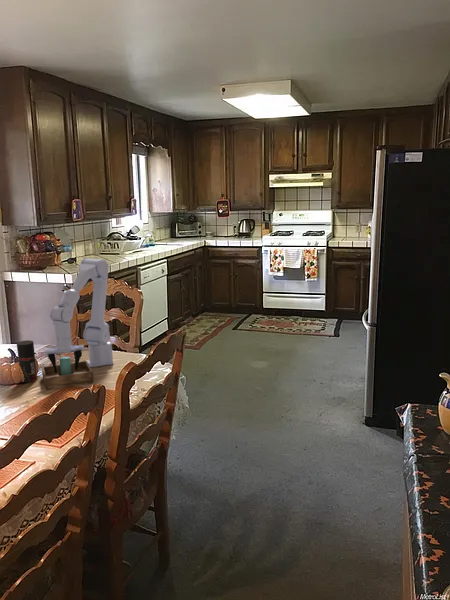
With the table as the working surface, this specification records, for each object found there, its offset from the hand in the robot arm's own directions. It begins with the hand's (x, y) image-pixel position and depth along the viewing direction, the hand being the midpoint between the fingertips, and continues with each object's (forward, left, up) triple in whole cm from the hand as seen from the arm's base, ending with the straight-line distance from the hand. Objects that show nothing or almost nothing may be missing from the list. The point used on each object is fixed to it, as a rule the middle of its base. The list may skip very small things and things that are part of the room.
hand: (66, 370), depth 203 cm
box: (0, +3, -3) cm, 4 cm away
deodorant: (+14, -4, -3) cm, 14 cm away
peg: (0, 0, -3) cm, 3 cm away
